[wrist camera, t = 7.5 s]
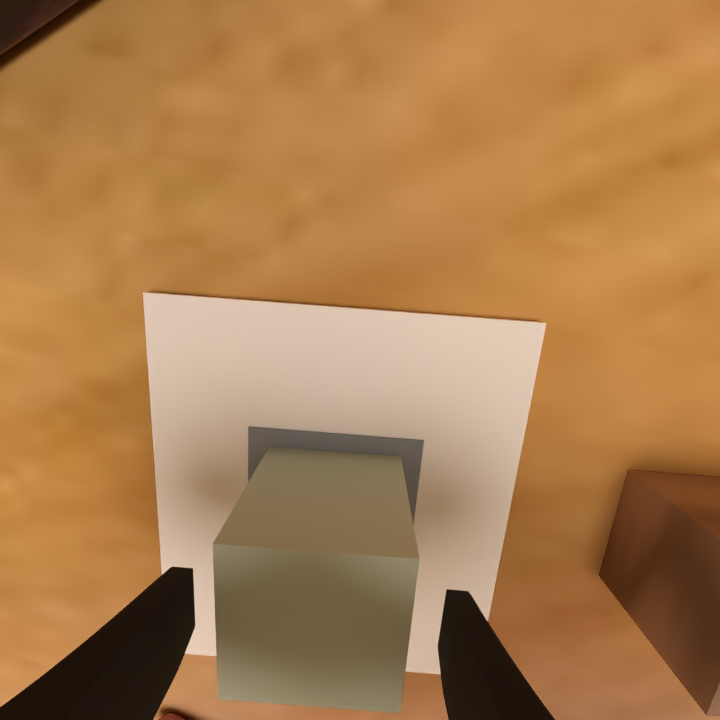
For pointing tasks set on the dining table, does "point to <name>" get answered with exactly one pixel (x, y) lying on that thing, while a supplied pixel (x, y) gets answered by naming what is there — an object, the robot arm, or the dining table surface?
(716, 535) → the walnut block
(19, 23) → the decorative book
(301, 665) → the sage block
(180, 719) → the video game controller
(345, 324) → the white flat board
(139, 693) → the robot arm
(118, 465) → the dining table surface
